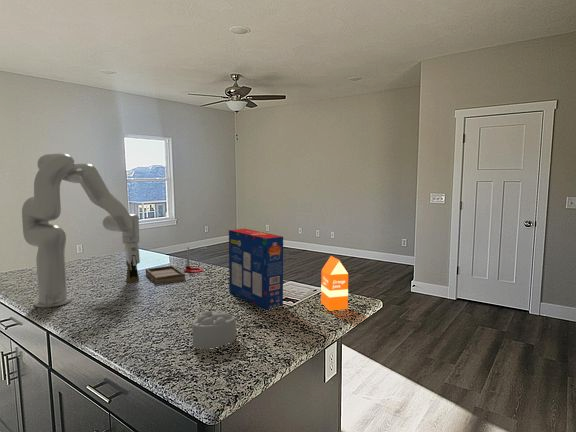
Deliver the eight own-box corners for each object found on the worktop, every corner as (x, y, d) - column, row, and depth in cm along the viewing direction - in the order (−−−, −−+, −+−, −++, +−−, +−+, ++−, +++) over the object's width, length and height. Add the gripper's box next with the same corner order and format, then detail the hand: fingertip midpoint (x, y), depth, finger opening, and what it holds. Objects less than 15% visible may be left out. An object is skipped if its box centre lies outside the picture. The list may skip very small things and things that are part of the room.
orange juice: (328, 312, 139) (329, 260, 136) (320, 305, 147) (321, 255, 145) (348, 311, 141) (349, 259, 139) (338, 303, 149) (339, 254, 147)
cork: (135, 278, 184) (134, 257, 182) (141, 280, 180) (140, 258, 179) (123, 281, 179) (122, 259, 178) (129, 283, 175) (128, 260, 174)
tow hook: (205, 270, 203) (190, 268, 205) (206, 247, 201) (190, 245, 203) (198, 274, 194) (182, 272, 197) (198, 250, 193) (182, 248, 195)
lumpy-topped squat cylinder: (240, 340, 115) (239, 313, 114) (204, 354, 106) (203, 325, 105) (220, 330, 122) (220, 305, 121) (185, 342, 113) (184, 315, 112)
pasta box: (282, 306, 145) (283, 236, 142) (266, 310, 140) (266, 238, 137) (244, 289, 167) (244, 228, 164) (229, 292, 162) (228, 230, 159)
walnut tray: (185, 280, 182) (184, 273, 181) (155, 284, 174) (155, 277, 174) (173, 271, 198) (172, 265, 198) (145, 275, 190) (145, 269, 190)
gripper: (143, 241, 172) (144, 279, 174) (135, 236, 186) (136, 272, 188) (126, 242, 168) (127, 282, 170) (119, 237, 182) (121, 274, 184)
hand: (132, 276), depth 179 cm, fingers closed on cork, 4 cm apart
